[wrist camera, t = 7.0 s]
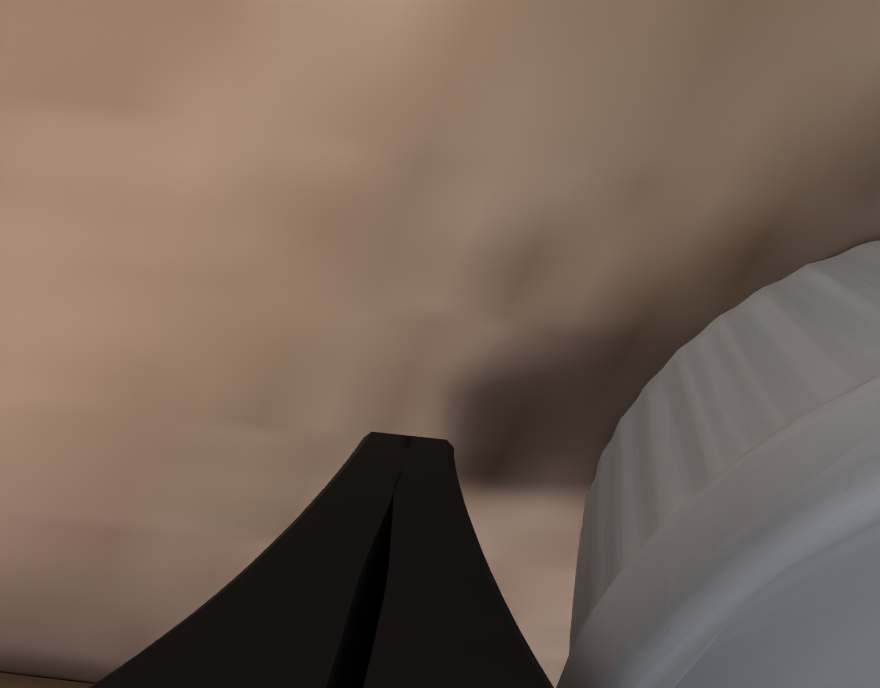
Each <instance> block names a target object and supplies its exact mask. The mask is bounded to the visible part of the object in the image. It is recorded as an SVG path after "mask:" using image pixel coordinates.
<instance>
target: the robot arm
mask: <svg viewBox="0 0 880 688" xmlns="http://www.w3.org/2000/svg"><path fill="white" fill-rule="evenodd" d="M89 688H554V687H553V686H552V684H551V682H550V681H549V679H548V678H547V676H546V674H545V673H544V671H543V669H542V668H541V666H540V665H539V663H538V661H537V660H536V658H535V656H534V654H533V653H532V651H531V649H530V647H529V645H528V644H527V642H526V640H525V638H524V637H523V635H522V633H521V631H520V630H519V628H518V626H517V624H516V622H515V620H514V618H513V616H512V614H511V612H510V610H509V608H508V606H507V604H506V602H505V600H504V598H503V596H502V594H501V592H500V590H499V588H498V586H497V584H496V581H495V579H494V577H493V575H492V573H491V571H490V568H489V566H488V564H487V561H486V559H485V557H484V554H483V552H482V550H481V547H480V544H479V542H478V539H477V536H476V534H475V531H474V528H473V526H472V523H471V520H470V518H469V515H468V512H467V509H466V506H465V503H464V499H463V496H462V492H461V489H460V485H459V481H458V477H457V473H456V468H455V461H454V447H453V446H452V445H451V444H450V443H449V442H448V441H447V440H444V439H435V438H425V437H416V436H406V435H397V434H387V433H378V432H371V433H369V434H368V435H367V436H365V437H364V438H363V439H362V441H361V442H360V444H359V445H358V447H357V448H356V449H355V451H354V452H353V453H352V455H351V456H350V457H349V459H348V460H347V461H346V463H345V464H344V465H343V466H342V468H341V469H340V470H339V471H338V472H337V474H336V475H335V476H334V477H333V478H332V480H331V481H330V482H329V483H328V484H327V486H326V487H325V488H324V489H323V490H322V491H321V492H320V493H319V495H318V496H317V497H316V498H315V499H314V500H313V501H312V502H311V503H310V505H309V506H308V507H307V508H306V509H305V510H304V511H303V512H302V513H301V514H300V516H299V517H298V518H297V519H296V520H295V521H294V522H293V523H292V524H291V525H290V526H289V527H288V528H287V529H286V530H285V531H284V532H283V533H282V534H281V535H280V536H279V537H278V538H277V539H276V540H275V541H274V542H273V543H272V544H271V545H270V546H269V547H268V548H267V549H265V550H264V551H263V552H262V553H261V554H260V555H259V556H258V557H257V558H256V559H255V560H254V561H253V562H252V563H251V564H250V565H249V566H248V567H247V568H246V569H244V570H243V571H242V572H241V573H240V574H239V575H238V576H237V577H235V578H234V579H233V580H232V581H231V582H230V583H229V584H227V585H226V586H225V587H224V588H223V589H222V590H220V591H219V592H218V593H217V594H216V595H214V596H213V597H212V598H211V599H210V600H208V601H207V602H206V603H205V604H203V605H202V606H201V607H200V608H199V609H197V610H196V611H195V612H194V613H192V614H191V615H190V616H189V617H187V618H186V619H185V620H183V621H182V622H181V623H179V624H178V625H177V626H175V627H174V628H173V629H171V630H170V631H169V632H167V633H166V634H165V635H163V636H162V637H161V638H159V639H158V640H156V641H155V642H154V643H152V644H151V645H150V646H148V647H147V648H146V649H144V650H143V651H142V652H140V653H139V654H138V655H136V656H135V657H133V658H132V659H130V660H129V661H128V662H126V663H125V664H123V665H122V666H120V667H119V668H118V669H116V670H115V671H113V672H112V673H110V674H109V675H107V676H106V677H104V678H103V679H101V680H100V681H98V682H97V683H95V684H94V685H92V686H90V687H89Z"/></svg>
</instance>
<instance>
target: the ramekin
mask: <svg viewBox="0 0 880 688" xmlns="http://www.w3.org/2000/svg"><path fill="white" fill-rule="evenodd" d="M557 688H880V241H871V242H868V243H865V244H861V245H858V246H855V247H853V248H851V249H849V250H847V251H845V252H843V253H841V254H839V255H837V256H834V257H831V258H829V259H825V260H821V261H817V262H813V263H809V264H806V265H805V266H803V267H802V268H800V269H798V270H797V271H795V272H794V273H792V274H790V275H789V276H787V277H786V278H784V279H782V280H780V281H777V282H775V283H772V284H770V285H767V286H764V287H762V288H761V289H759V290H758V291H756V292H755V293H753V294H752V295H751V296H749V297H748V298H747V299H746V300H744V301H743V302H742V303H740V304H739V305H738V306H736V307H734V308H732V309H730V310H728V311H726V312H725V313H723V314H721V315H719V316H718V317H717V318H716V319H714V320H713V321H712V322H711V323H710V324H709V325H708V326H707V327H706V328H705V329H704V330H703V331H702V332H701V333H700V334H699V335H697V336H696V337H695V338H693V339H692V340H690V341H689V342H688V343H686V344H685V345H684V346H682V347H681V348H680V349H678V350H677V351H676V353H675V354H674V355H673V356H672V357H671V359H670V360H669V361H668V362H667V363H666V365H665V366H664V367H663V368H662V369H661V370H660V371H659V372H658V373H657V374H656V375H655V376H654V377H653V378H652V379H651V380H650V381H649V382H648V383H647V384H646V385H645V387H644V388H643V389H642V391H641V393H640V395H639V396H638V398H637V399H636V401H635V402H634V403H633V404H632V406H631V407H630V408H629V410H628V411H627V412H626V413H625V414H624V415H623V417H622V418H621V419H620V421H619V423H618V425H617V427H616V429H615V432H614V435H613V437H612V439H611V441H610V442H609V444H608V445H607V446H606V448H605V449H604V451H603V452H602V454H601V456H600V459H599V462H598V465H597V471H596V477H595V479H594V481H593V483H592V485H591V487H590V489H589V492H588V495H587V498H586V502H585V509H584V515H583V525H582V529H581V534H580V541H579V549H578V557H577V567H576V577H575V587H574V598H573V609H572V621H571V632H570V649H569V657H568V659H567V662H566V664H565V667H564V670H563V672H562V675H561V677H560V680H559V682H558V685H557Z"/></svg>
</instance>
